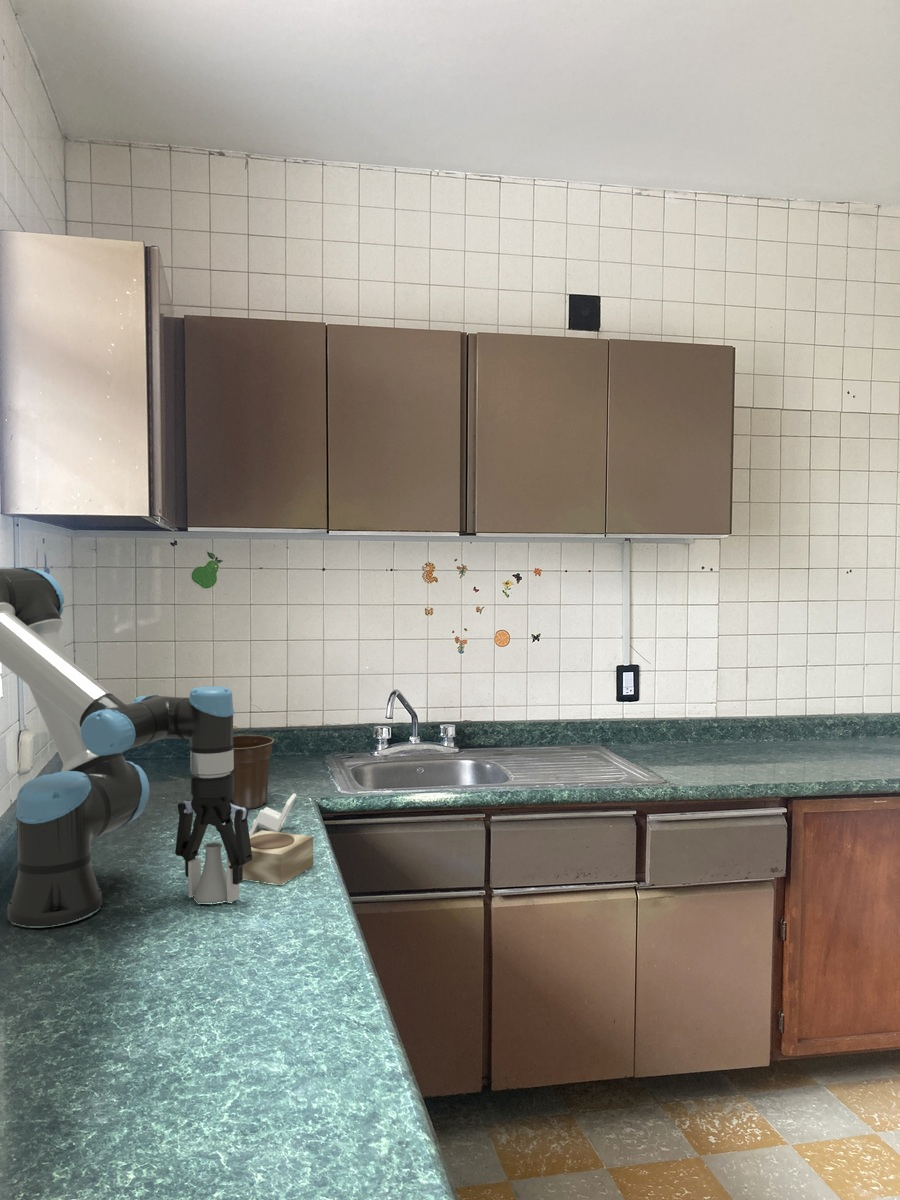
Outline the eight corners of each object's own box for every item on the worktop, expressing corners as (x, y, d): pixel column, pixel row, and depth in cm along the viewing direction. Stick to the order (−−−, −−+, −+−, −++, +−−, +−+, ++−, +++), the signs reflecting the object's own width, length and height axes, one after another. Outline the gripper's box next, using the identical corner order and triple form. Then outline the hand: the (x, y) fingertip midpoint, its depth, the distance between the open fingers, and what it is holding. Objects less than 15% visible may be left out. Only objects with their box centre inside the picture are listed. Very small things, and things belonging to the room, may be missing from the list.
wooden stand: (227, 878, 173) (227, 845, 173) (262, 858, 184) (261, 828, 184) (281, 886, 169) (281, 853, 168) (313, 866, 180) (313, 835, 180)
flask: (192, 908, 158) (191, 852, 157) (193, 893, 165) (193, 840, 164) (234, 904, 160) (234, 849, 159) (234, 890, 167) (233, 837, 166)
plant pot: (225, 817, 214) (225, 750, 214) (197, 803, 227) (197, 740, 226) (286, 805, 225) (285, 741, 224) (256, 792, 237) (255, 732, 237)
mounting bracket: (266, 852, 194) (286, 808, 194) (240, 840, 194) (260, 796, 194) (278, 835, 206) (297, 793, 206) (253, 824, 206) (272, 782, 206)
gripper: (272, 773, 161) (273, 898, 162) (179, 764, 168) (180, 883, 169) (249, 782, 154) (250, 913, 155) (152, 772, 161) (154, 897, 162)
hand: (214, 897), depth 162 cm, fingers closed on flask, 8 cm apart
